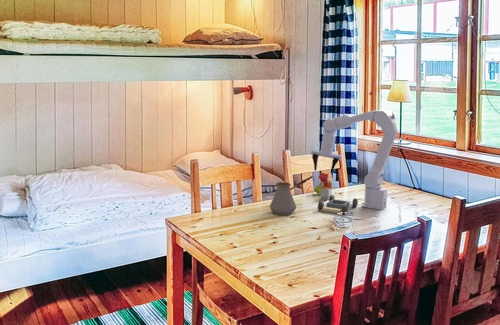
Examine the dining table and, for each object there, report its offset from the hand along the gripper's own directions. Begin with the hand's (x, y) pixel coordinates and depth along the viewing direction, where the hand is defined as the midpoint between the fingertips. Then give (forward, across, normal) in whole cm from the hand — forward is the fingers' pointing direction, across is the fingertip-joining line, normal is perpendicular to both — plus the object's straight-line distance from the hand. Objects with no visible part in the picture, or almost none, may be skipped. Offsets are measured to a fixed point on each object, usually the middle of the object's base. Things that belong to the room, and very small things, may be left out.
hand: (323, 171), depth 241 cm
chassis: (+11, -11, +16) cm, 22 cm away
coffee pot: (+14, +8, +27) cm, 31 cm away
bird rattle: (+14, -1, -9) cm, 17 cm away
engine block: (+13, -4, +1) cm, 14 cm away
